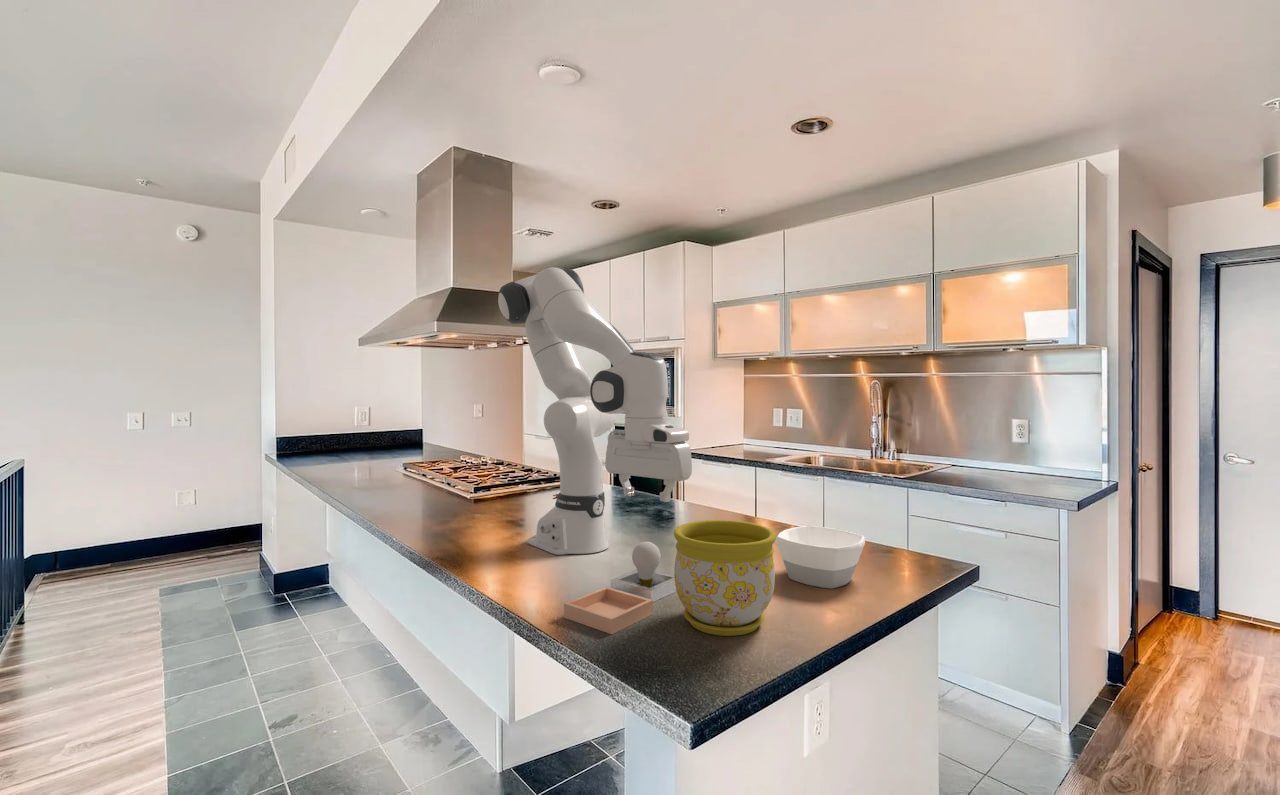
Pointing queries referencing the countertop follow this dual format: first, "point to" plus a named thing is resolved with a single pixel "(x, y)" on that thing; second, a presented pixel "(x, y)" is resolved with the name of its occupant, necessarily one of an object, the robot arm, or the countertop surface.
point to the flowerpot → (724, 574)
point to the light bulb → (646, 562)
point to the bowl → (820, 555)
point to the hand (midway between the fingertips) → (646, 498)
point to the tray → (608, 609)
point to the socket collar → (629, 585)
